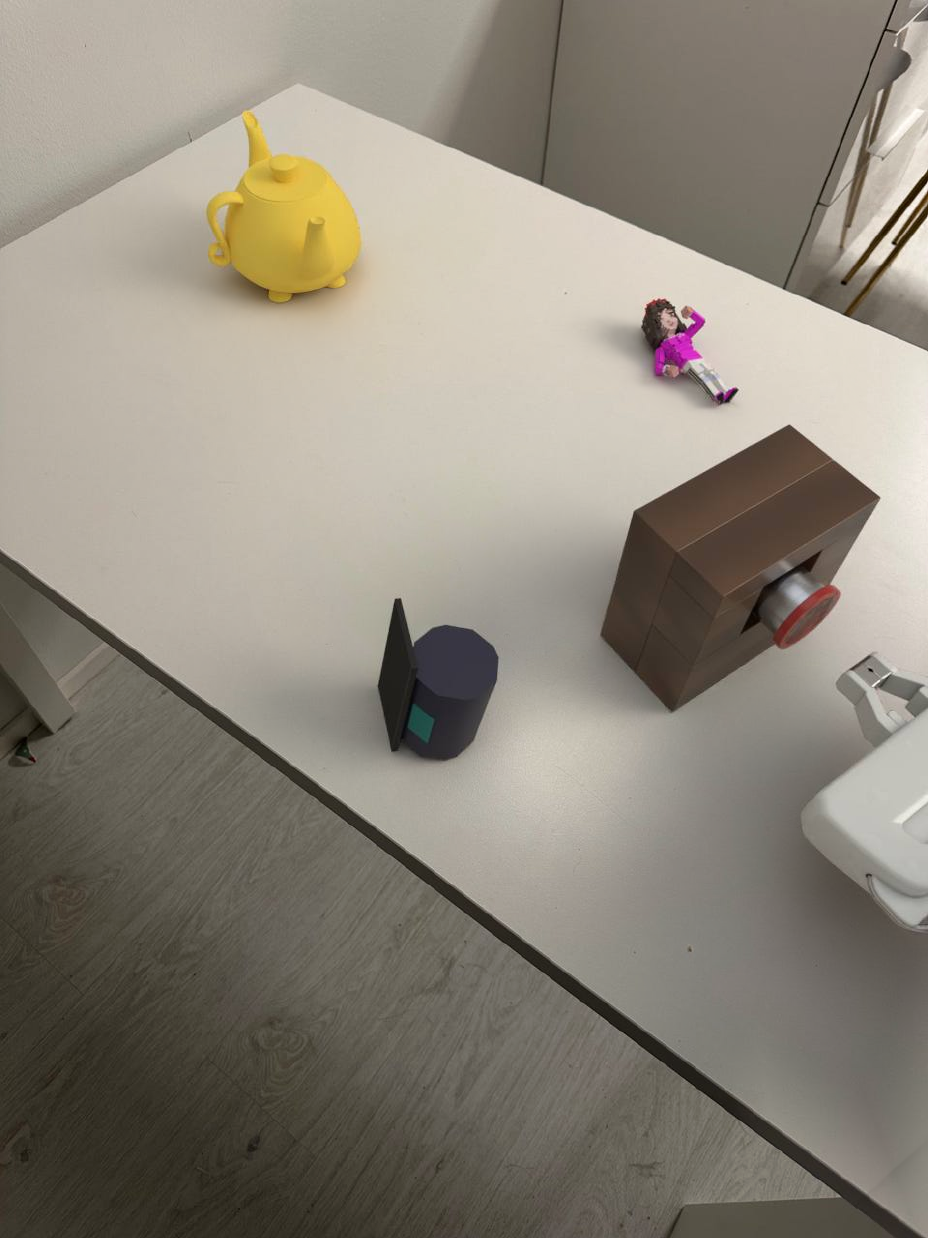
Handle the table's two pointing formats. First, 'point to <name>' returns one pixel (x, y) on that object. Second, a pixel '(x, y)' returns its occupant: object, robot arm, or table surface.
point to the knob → (794, 605)
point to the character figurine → (681, 348)
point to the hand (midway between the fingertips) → (854, 667)
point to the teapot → (285, 223)
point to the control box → (727, 560)
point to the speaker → (435, 686)
